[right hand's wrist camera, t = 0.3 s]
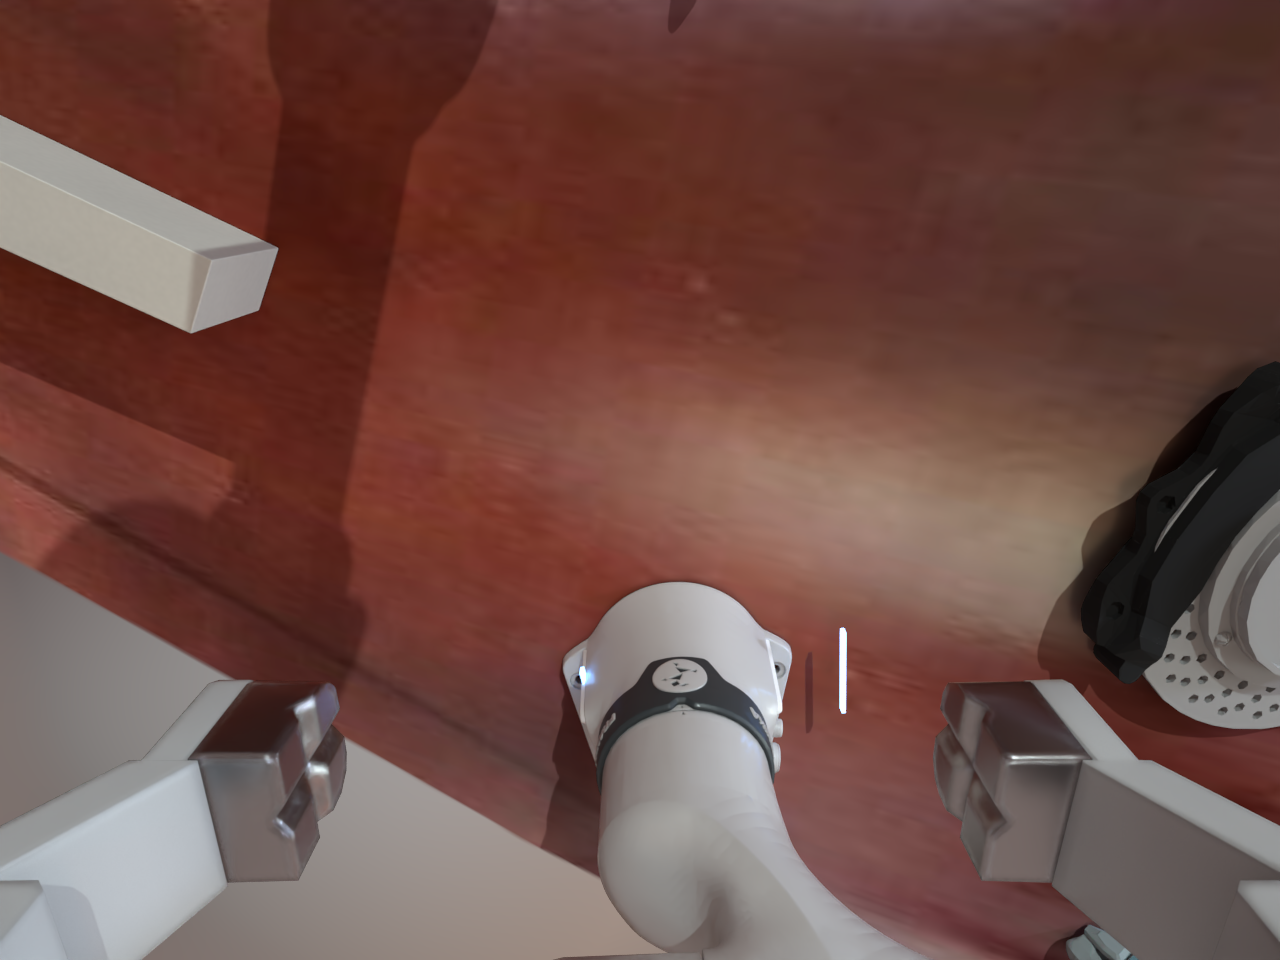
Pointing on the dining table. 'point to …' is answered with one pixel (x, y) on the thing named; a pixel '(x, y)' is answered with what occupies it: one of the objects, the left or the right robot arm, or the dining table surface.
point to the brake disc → (1204, 573)
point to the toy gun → (1096, 946)
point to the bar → (125, 235)
